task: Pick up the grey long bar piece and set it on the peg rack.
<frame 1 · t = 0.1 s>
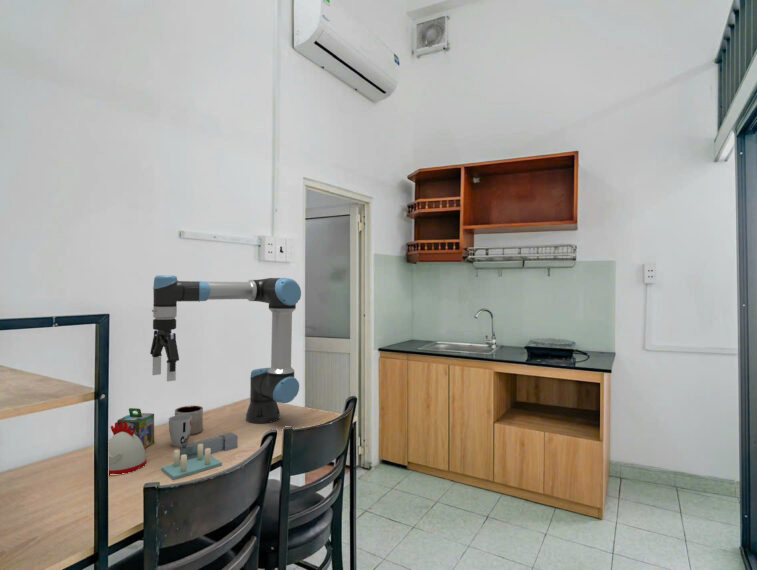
hand: (163, 377, 157), 28 cm above the table, fingers open, 13 cm apart
kitchen timer: (122, 467, 147), on the table
grey long bar piece: (203, 454, 159), on the table
planter: (188, 432, 182), on the table
cup: (179, 444, 169), on the table
peg rack: (192, 467, 147), on the table
chalk box: (135, 447, 165), on the table
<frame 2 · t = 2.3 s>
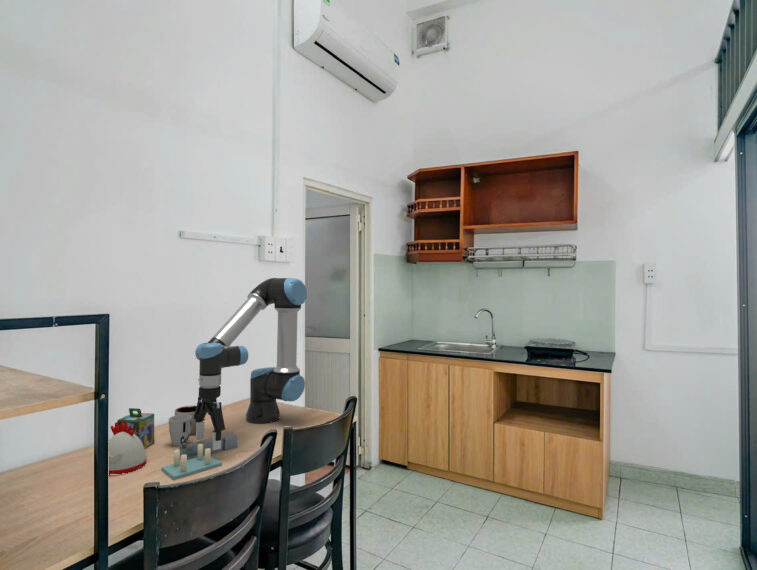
hand: (208, 444, 160), 3 cm above the table, fingers open, 13 cm apart
nothing on the table moved.
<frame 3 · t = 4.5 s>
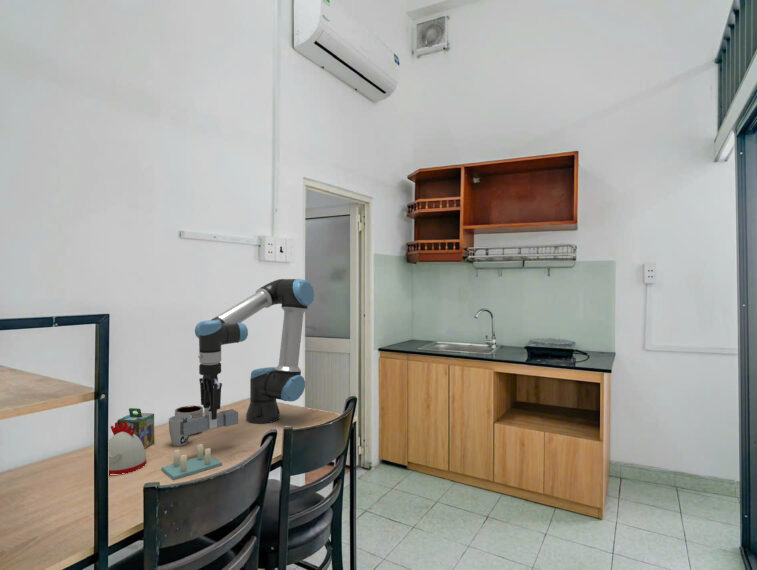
hand: (210, 426, 161), 9 cm above the table, fingers closed on grey long bar piece, 3 cm apart
grey long bar piece: (204, 429, 159), point 9 cm above the table, touching gripper
everything else where it was.
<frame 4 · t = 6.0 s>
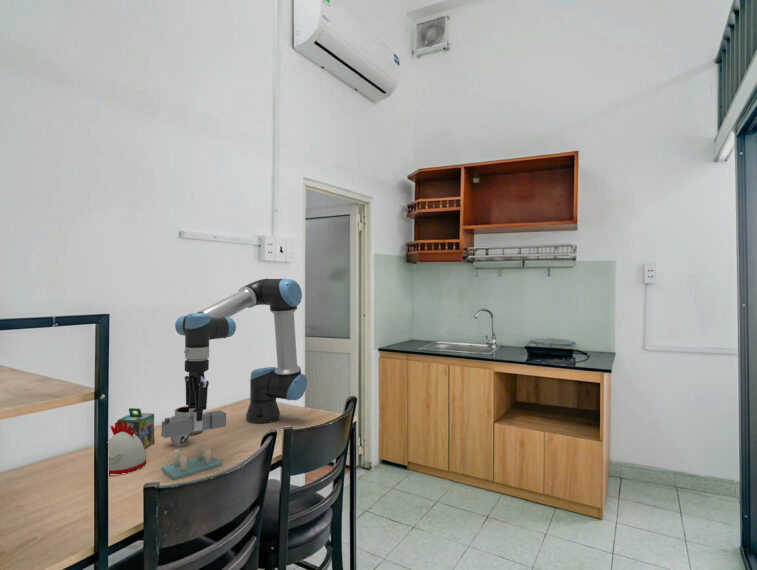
hand: (195, 428, 148), 13 cm above the table, fingers closed on grey long bar piece, 3 cm apart
grey long bar piece: (188, 431, 146), point 12 cm above the table, touching gripper
everything else where it was.
when the fingers open (2 cm above the table, at t = 7.6 s): grey long bar piece stays where it is, resting on peg rack.
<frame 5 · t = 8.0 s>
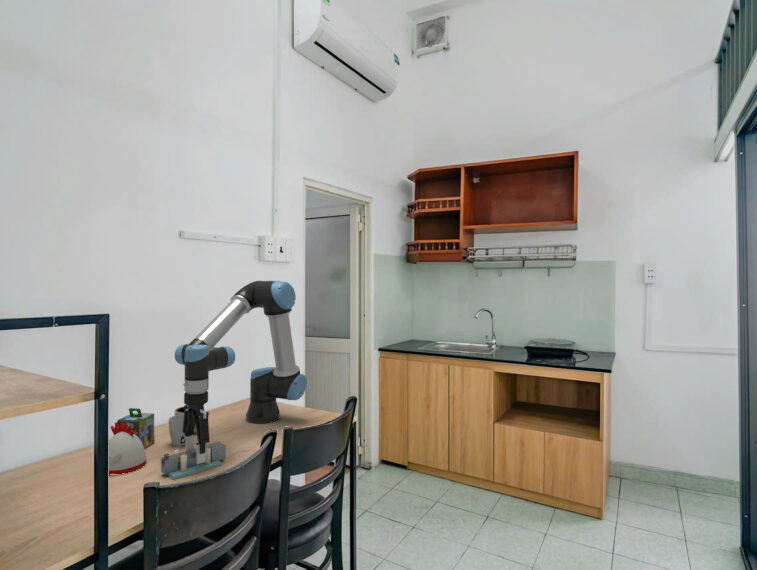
hand: (195, 458, 148), 3 cm above the table, fingers open, 8 cm apart
grey long bar piece: (187, 465, 146), point 1 cm above the table, touching peg rack
everything else where it was.
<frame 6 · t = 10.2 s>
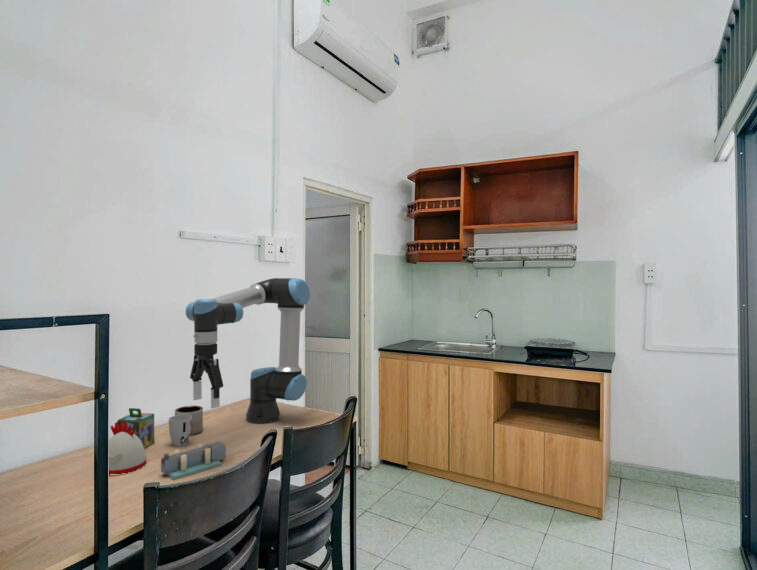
hand: (206, 403, 154), 20 cm above the table, fingers open, 13 cm apart
nothing on the table moved.
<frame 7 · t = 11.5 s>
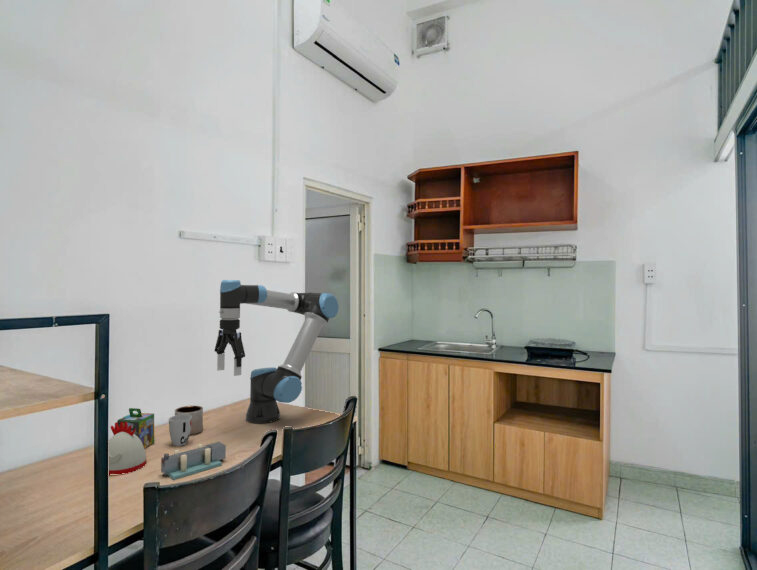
hand: (228, 372, 173), 27 cm above the table, fingers open, 13 cm apart
nothing on the table moved.
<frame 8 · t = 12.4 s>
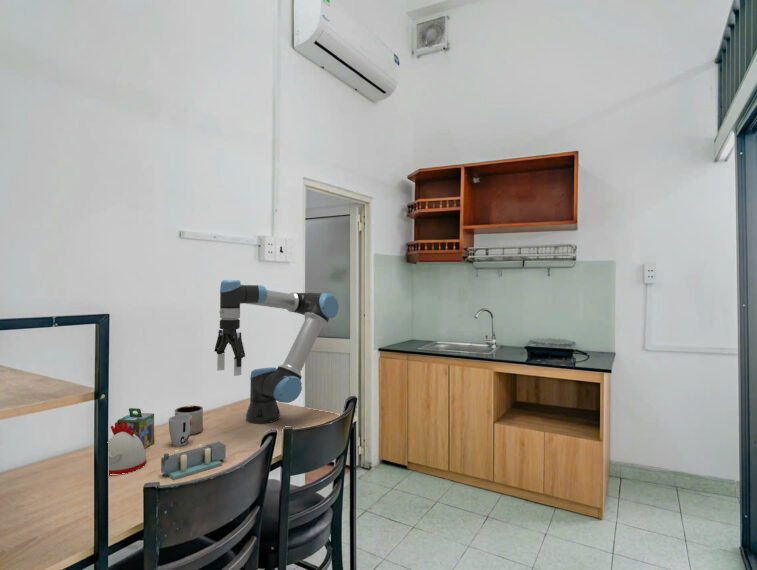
hand: (228, 372, 173), 27 cm above the table, fingers open, 13 cm apart
nothing on the table moved.
at the end: grey long bar piece 1.4 cm off-centre on the peg rack, point 1.0 cm above the peg rack's base; the gripper is holding nothing; grey long bar piece touching peg rack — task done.
